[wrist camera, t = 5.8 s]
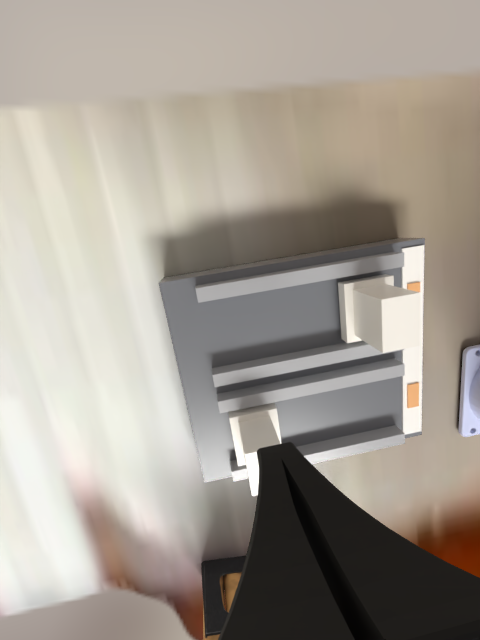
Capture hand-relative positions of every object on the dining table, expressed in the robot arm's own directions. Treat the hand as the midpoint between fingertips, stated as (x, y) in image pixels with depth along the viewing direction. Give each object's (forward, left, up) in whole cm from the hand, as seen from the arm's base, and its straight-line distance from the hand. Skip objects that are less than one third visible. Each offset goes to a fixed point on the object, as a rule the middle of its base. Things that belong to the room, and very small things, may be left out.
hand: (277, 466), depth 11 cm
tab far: (0, +4, -8) cm, 9 cm away
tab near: (-8, -3, -8) cm, 11 cm away
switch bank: (-4, 0, -11) cm, 11 cm away
